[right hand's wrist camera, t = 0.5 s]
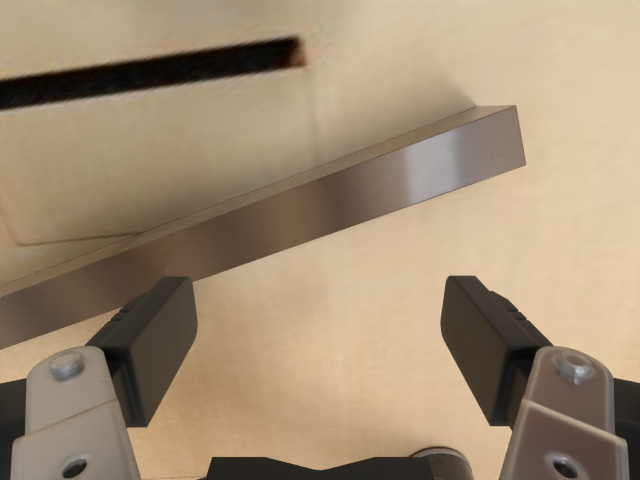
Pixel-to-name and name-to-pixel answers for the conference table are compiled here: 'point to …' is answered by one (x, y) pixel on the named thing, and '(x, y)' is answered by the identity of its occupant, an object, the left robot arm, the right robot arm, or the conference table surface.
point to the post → (268, 220)
